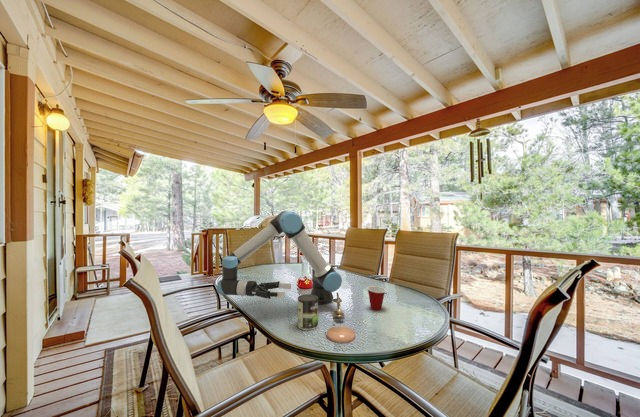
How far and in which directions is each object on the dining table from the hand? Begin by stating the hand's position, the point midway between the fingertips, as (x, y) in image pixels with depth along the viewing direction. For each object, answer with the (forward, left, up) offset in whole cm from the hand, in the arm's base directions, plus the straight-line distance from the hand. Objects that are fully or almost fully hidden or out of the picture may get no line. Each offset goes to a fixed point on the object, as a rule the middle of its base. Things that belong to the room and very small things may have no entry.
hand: (288, 290), depth 131 cm
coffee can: (+8, +7, -18) cm, 20 cm away
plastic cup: (+19, +50, -18) cm, 56 cm away
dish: (+26, +11, -17) cm, 33 cm away
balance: (+11, +26, -17) cm, 33 cm away
